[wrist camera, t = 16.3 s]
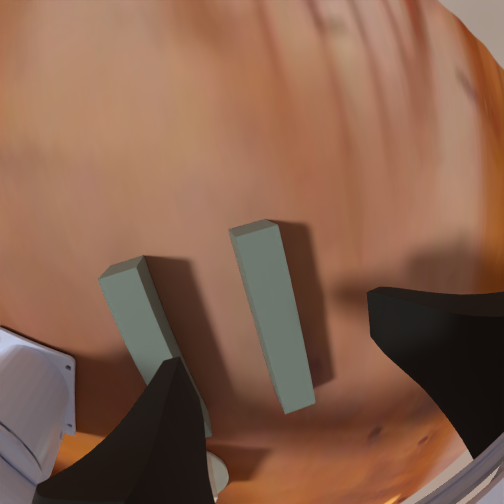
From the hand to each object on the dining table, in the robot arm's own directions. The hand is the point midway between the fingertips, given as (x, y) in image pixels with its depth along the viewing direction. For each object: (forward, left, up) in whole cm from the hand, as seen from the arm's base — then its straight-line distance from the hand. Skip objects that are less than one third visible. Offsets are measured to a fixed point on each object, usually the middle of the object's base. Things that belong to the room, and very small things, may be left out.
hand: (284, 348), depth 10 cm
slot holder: (-5, 0, -10) cm, 12 cm away
